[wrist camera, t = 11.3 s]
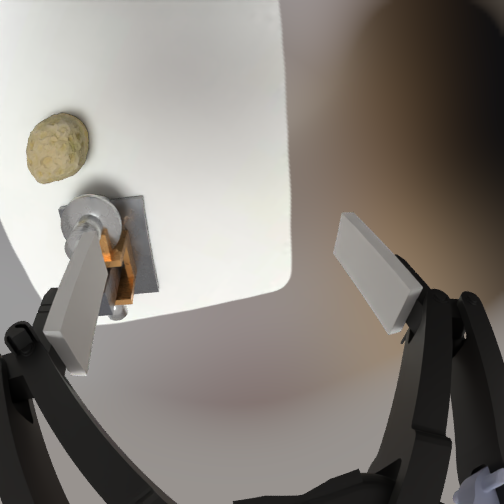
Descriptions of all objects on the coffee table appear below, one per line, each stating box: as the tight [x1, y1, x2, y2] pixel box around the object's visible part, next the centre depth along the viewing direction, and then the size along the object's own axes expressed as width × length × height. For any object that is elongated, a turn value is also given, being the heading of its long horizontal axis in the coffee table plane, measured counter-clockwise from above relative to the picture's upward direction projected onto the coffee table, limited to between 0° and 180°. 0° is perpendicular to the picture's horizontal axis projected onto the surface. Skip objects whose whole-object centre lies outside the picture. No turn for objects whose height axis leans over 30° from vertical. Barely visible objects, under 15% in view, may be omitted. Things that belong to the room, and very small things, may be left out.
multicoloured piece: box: [58, 194, 159, 321], centre depth 39 cm, size 22×14×12 cm, turn 179°
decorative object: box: [26, 113, 89, 184], centre depth 32 cm, size 9×10×10 cm
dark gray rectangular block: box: [98, 262, 123, 316], centre depth 40 cm, size 4×4×12 cm
